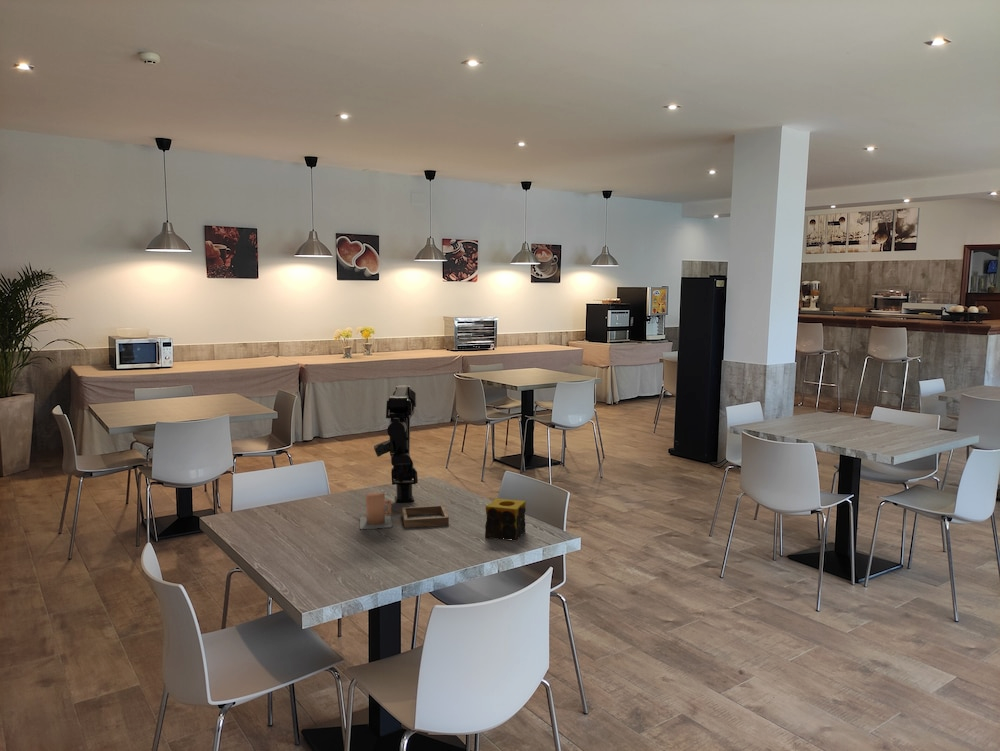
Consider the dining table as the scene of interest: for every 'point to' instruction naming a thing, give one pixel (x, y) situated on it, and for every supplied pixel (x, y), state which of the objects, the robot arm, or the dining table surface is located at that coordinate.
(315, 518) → the dining table surface
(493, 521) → the candle
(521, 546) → the dining table surface
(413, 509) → the wooden picture frame
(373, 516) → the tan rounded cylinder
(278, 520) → the dining table surface
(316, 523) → the dining table surface
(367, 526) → the pad
